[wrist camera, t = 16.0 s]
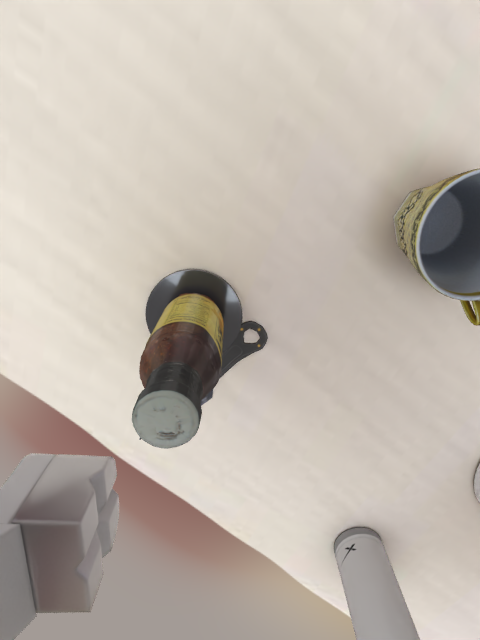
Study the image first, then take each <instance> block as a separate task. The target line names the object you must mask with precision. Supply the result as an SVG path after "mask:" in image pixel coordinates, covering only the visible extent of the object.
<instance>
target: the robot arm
mask: <svg viewBox="0 0 480 640" xmlns="http://www.w3.org/2000/svg"><path fill="white" fill-rule="evenodd" d="M116 476H117V472H116V463H115V460H114V458H113V457H106V456H105V457H104V456H85V455H63V454H58V455H55V454H29V455H27V456H25V457H24V458H23V459H22V460H21V461H20V463H19V464H18V465H17V467H16V468H15V469H14V471H13V472H12V473H11V475H10V476H9V477H8V479H7V480H6V481H5V483H4V484H3V485H2V487H1V488H0V640H14V639H15V638H16V637H17V636H18V635H19V634H20V633H21V631H23V630H24V628H26V626H28V624H29V623H30V622H31V621H32V620H33V619H34V618H35V617H36V613H59V612H60V613H61V612H91V609H92V606H93V603H94V600H95V597H96V594H97V591H98V588H99V585H100V582H101V580H102V576H103V564H102V558H103V557H104V556H106V555H107V554H108V553H109V552H110V551H111V549H112V546H113V543H114V540H115V536H116V531H117V525H118V518H119V496H118V494H117V493H116V492H115V491H114V490H113V489H112V487H113V484H114V482H115V479H116ZM474 491H475V495H476V498H477V500H478V501H479V503H480V464H479V466H478V468H477V470H476V473H475V478H474Z"/></svg>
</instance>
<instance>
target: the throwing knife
mask: <svg viewBox="0 0 480 640" xmlns="http://www.w3.org/2000/svg"><path fill="white" fill-rule="evenodd" d="M250 328H251V329H253V330H255V331H257V333H258V334H259V336H260V339H259V340H258V342H257V343H252V344H251V343H244V338H243V336H244V332H245V331H246V330H248V329H250ZM266 342H267V334H266V332H265V330H264V328H263V327H262V326H261V325H259V324H257V323H256V322H252V321H249V322H245V323H243V324H241V328H240V331H239V334H238V336H237V338H236V339H235V341H234V342H233V344H232V345H231V346H230V347H229V348H228V349H227V350H225V351H224V352H223V353H222V366H221V374H220V378H221V377H222V376H223V375H224V374H225V373H226V372H227V371H228V370H229V369H230V368H231V367H232V366H233V365H235V364H236V363H237V362H238V361H240V360H241V359H243V358H245V357H246V356H248V355H250V354H252V353H254V352H256V351H259V350H261V349H262V348H263V347H264V346H265V344H266ZM220 378H219V379H220ZM212 394H213V389H212V390H211V391H210V392H209V393H208V394H207V395H206V396H205V397H204V398H203V399H202V400H201V401H200V403H201V405H203V404H204V403H205V402H207V401H208V400H210V399H211V398H212ZM140 439H141V438H140ZM140 439H139V440H140Z"/></svg>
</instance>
